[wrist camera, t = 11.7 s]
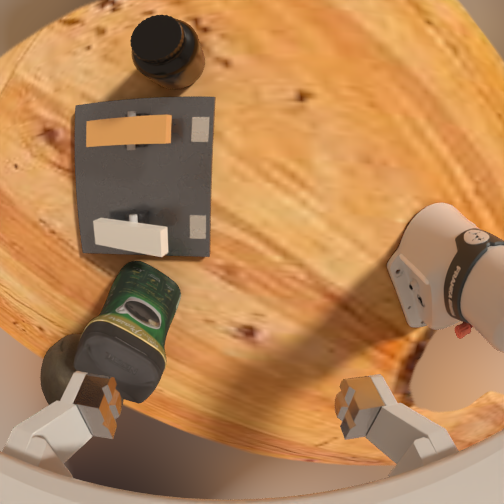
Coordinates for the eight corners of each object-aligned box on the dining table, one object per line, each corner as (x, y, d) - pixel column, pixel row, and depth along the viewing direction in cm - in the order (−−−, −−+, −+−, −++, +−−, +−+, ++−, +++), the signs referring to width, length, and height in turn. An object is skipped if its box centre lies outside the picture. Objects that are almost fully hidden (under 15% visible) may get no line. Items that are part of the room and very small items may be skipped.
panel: (215, 98, 34) (214, 94, 31) (210, 252, 41) (208, 262, 38) (80, 106, 32) (68, 104, 29) (86, 248, 40) (77, 258, 36)
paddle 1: (175, 109, 30) (166, 107, 27) (173, 148, 31) (165, 150, 29) (98, 115, 30) (86, 115, 28) (97, 151, 32) (86, 153, 30)
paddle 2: (171, 218, 33) (160, 224, 31) (172, 255, 35) (161, 263, 33) (105, 210, 36) (92, 215, 33) (108, 243, 37) (96, 249, 35)
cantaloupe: (61, 362, 47) (32, 419, 33) (63, 305, 43) (21, 364, 29) (129, 389, 50) (111, 453, 36) (141, 335, 46) (117, 406, 32)
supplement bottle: (214, 50, 31) (209, 17, 20) (190, 97, 34) (174, 82, 22) (165, 34, 30) (141, -2, 19) (141, 80, 32) (107, 61, 21)
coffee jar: (109, 290, 42) (59, 375, 25) (132, 250, 40) (78, 329, 23) (163, 323, 45) (139, 419, 28) (190, 287, 43) (172, 382, 26)
